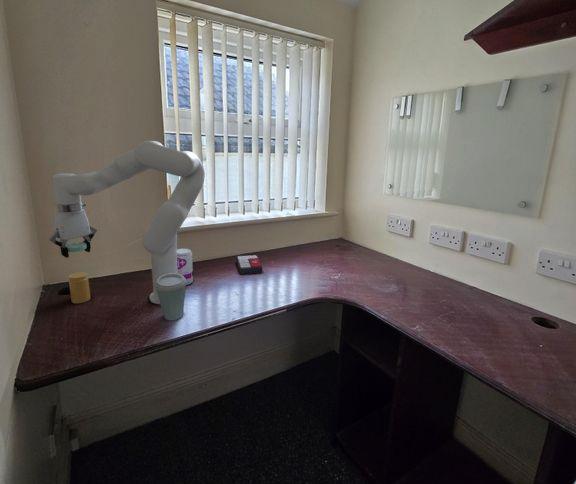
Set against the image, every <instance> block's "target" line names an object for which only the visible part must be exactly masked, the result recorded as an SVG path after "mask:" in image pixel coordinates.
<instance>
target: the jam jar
mask: <svg viewBox="0 0 576 484" xmlns="http://www.w3.org/2000/svg"><path fill="white" fill-rule="evenodd" d="M67 281H68V287H69V295H70V301H71V303H72V304H83V303H86V302H88V301H90V300H91V299H92V298H91V297H92V296H91V289H90V280H89V276H88V273H87V272H86V271H78V272H73V273H71V274H69V275H68V280H67Z"/></svg>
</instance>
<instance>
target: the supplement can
mask: <svg viewBox="0 0 576 484" xmlns="http://www.w3.org/2000/svg"><path fill="white" fill-rule="evenodd" d="M177 269H178V274H181V275H182V276H184V278H186V286H189V285H190V284H192V283H193V281H194V270H193V269H194V267H193V252H192V250H191V249H189V248H183V247H181V248H177Z"/></svg>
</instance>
